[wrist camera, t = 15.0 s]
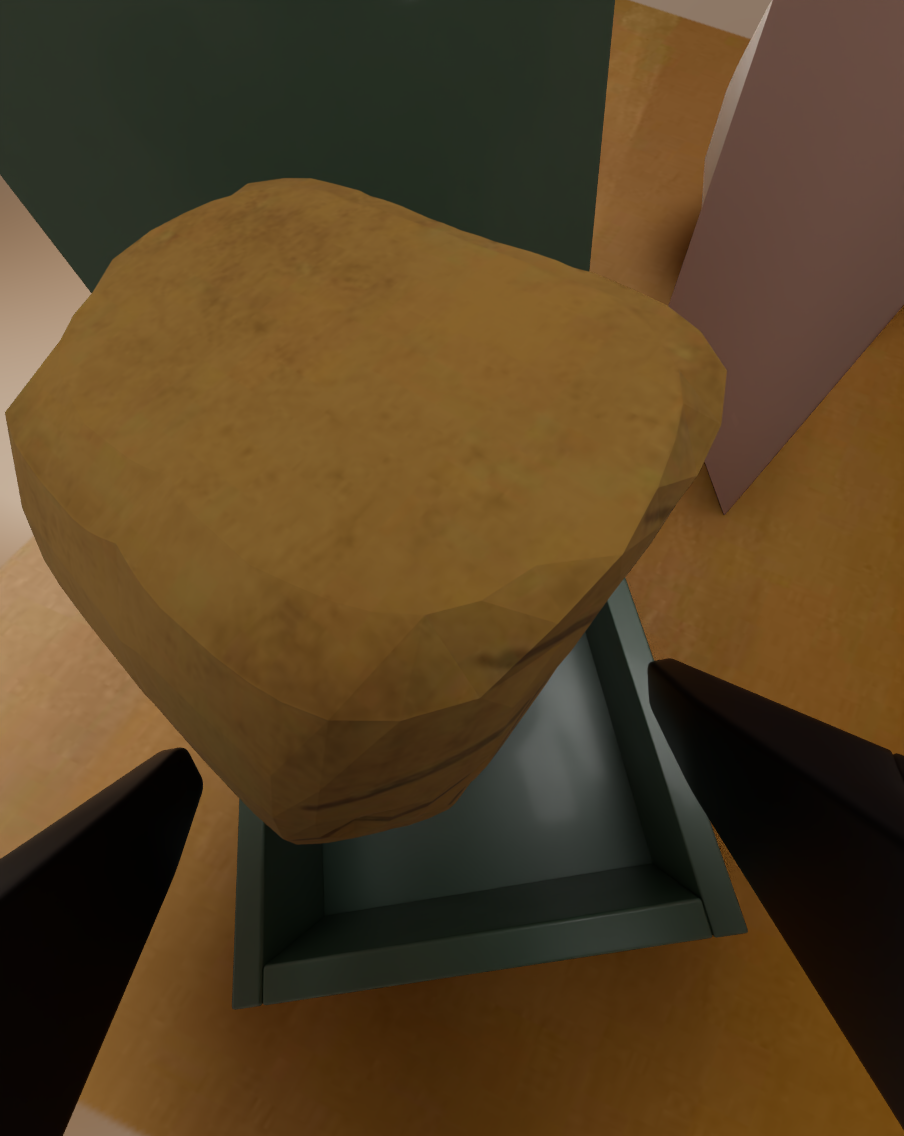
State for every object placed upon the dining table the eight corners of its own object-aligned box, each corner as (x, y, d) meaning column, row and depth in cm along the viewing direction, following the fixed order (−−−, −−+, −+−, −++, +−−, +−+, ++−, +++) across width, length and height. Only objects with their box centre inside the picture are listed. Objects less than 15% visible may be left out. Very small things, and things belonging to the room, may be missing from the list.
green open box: (678, 881, 15) (749, 933, 10) (312, 939, 16) (230, 1011, 11) (558, 493, 21) (571, 420, 17) (303, 545, 22) (249, 488, 17)
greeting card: (745, 522, 20) (1273, -27, 6) (585, 461, 22) (706, -38, 8) (817, 347, 23) (1268, -266, 9) (672, 310, 25) (862, -228, 12)
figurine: (574, 671, 17) (802, 322, 4) (470, 822, 16) (181, 1208, 2) (435, 574, 20) (258, 140, 6) (333, 696, 18) (-224, 485, 4)
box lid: (791, -1818, 3) (577, -984, 5) (-946, -1049, 3) (-392, -633, 6) (575, 419, 16) (545, 352, 19) (242, 489, 17) (255, 416, 19)
